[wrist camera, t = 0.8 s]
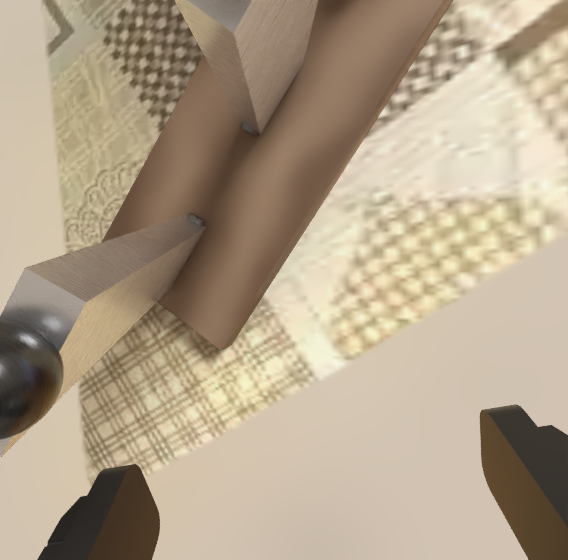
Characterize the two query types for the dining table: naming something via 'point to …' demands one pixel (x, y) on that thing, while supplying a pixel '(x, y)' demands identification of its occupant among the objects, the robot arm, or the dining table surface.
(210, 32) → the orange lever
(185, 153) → the walnut panel
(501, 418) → the robot arm
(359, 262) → the dining table surface
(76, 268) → the grey upright post
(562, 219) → the dining table surface
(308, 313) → the dining table surface
